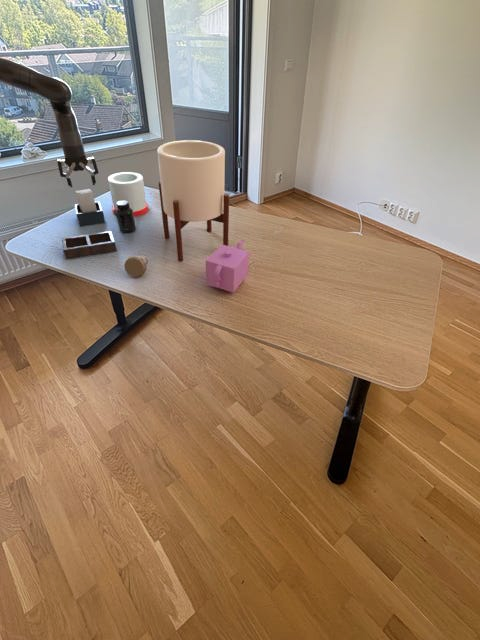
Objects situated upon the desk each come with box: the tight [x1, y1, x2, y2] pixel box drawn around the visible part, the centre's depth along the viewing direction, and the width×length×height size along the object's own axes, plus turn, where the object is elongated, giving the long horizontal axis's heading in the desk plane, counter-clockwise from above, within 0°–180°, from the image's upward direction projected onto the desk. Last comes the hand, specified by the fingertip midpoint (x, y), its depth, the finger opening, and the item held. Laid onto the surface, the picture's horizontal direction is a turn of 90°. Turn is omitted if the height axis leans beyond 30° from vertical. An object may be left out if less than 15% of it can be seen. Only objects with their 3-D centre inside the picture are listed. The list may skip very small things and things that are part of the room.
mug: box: [123, 255, 149, 278], centre depth 121 cm, size 8×10×10 cm
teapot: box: [205, 239, 250, 293], centre depth 117 cm, size 20×10×12 cm, turn 155°
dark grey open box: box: [74, 201, 106, 227], centre depth 149 cm, size 10×10×6 cm
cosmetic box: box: [75, 188, 97, 213], centre depth 147 cm, size 6×4×12 cm
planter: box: [157, 139, 230, 262], centre depth 127 cm, size 22×22×36 cm
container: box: [107, 171, 149, 218], centre depth 156 cm, size 16×16×15 cm
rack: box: [61, 230, 118, 261], centre depth 131 cm, size 18×10×4 cm, turn 114°
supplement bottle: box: [115, 201, 137, 235], centre depth 141 cm, size 7×7×12 cm
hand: (82, 185), depth 141 cm, fingers open, 8 cm apart
